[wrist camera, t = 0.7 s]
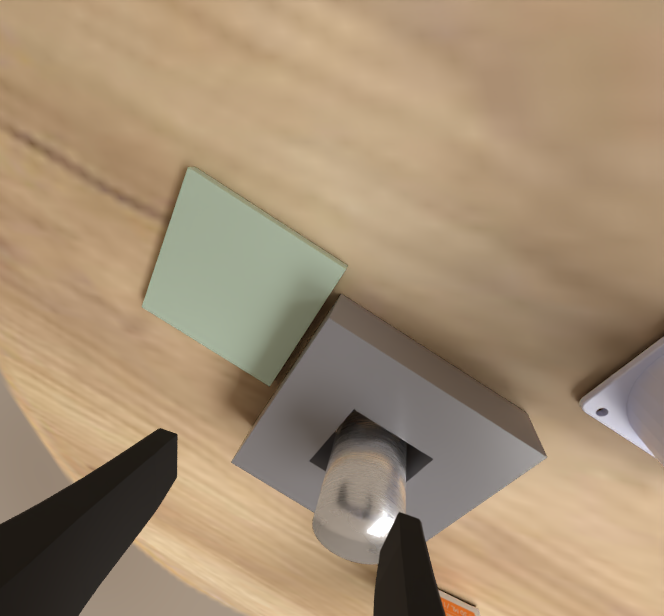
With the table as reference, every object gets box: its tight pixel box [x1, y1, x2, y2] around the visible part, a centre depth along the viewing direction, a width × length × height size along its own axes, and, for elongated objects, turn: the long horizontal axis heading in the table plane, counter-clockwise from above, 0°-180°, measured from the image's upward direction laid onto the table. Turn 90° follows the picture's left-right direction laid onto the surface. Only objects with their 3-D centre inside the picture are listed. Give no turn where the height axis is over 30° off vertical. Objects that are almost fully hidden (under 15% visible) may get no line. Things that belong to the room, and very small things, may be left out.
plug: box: [312, 410, 407, 564], centre depth 18 cm, size 4×4×7 cm
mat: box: [142, 167, 348, 387], centre depth 19 cm, size 9×9×1 cm
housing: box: [231, 294, 547, 541], centre depth 19 cm, size 12×12×3 cm
